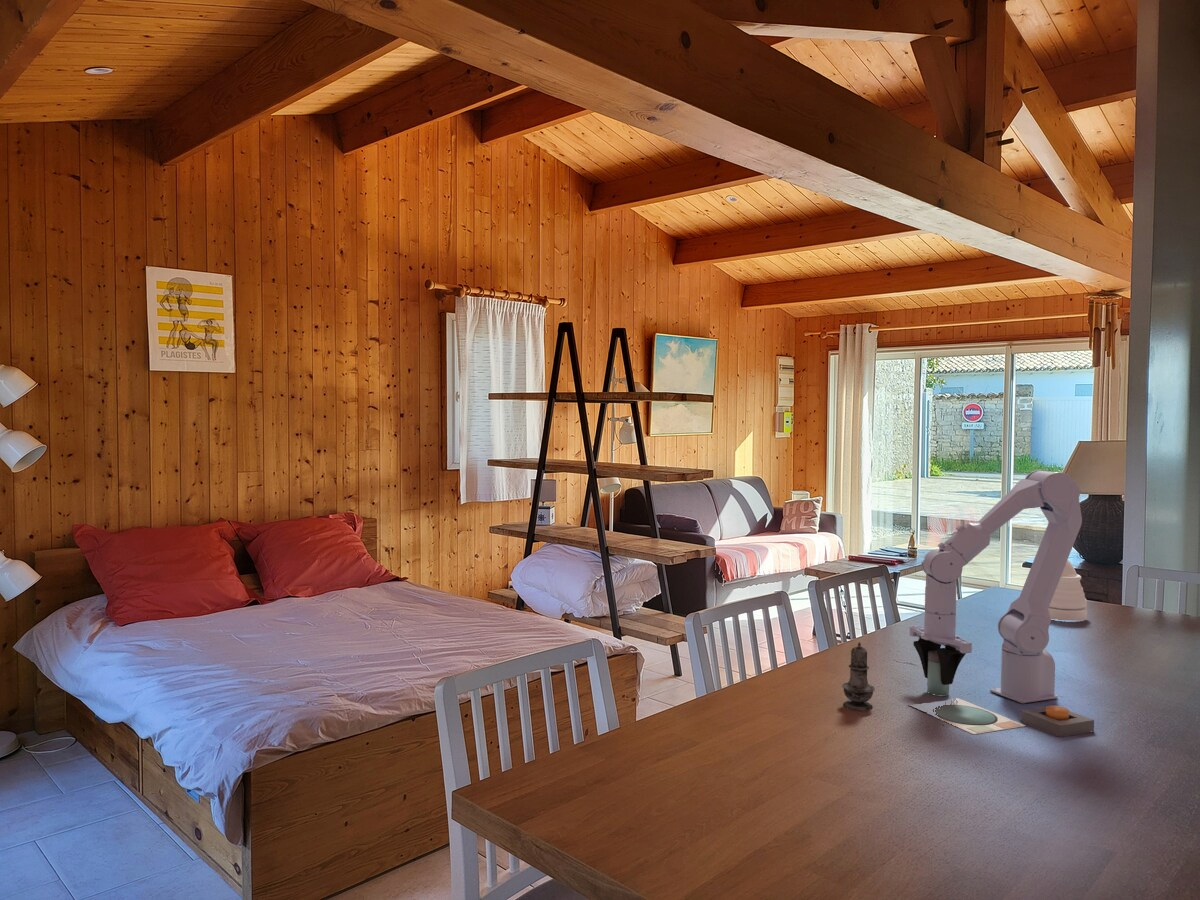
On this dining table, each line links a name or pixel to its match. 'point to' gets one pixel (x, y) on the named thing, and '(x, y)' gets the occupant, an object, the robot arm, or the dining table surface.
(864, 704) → the salt shaker
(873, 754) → the dining table surface
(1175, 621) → the dining table surface
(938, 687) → the green capped cylinder
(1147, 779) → the dining table surface
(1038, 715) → the button housing
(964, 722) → the picture sheet
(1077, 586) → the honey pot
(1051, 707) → the button
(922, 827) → the dining table surface
